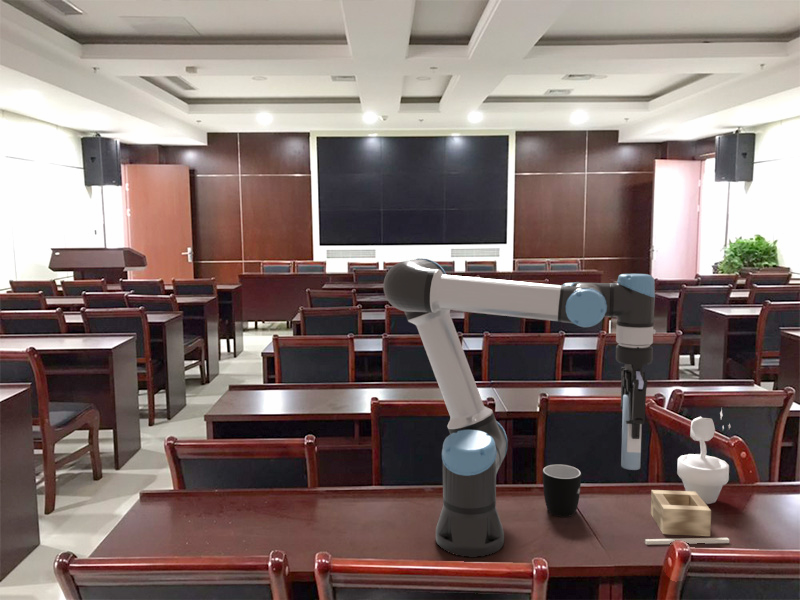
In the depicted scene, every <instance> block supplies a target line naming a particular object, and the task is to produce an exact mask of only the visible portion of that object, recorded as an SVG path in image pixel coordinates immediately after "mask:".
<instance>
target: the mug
mask: <svg viewBox="0 0 800 600" xmlns="http://www.w3.org/2000/svg"><path fill="white" fill-rule="evenodd" d="M581 480H582V472H581V471H580V470H579V469H578V468H576V467H574V466H571V465H568V464H550V465H546V466H545V467H544V468H543V469H542V486H543V496H544V503H545V506H546V509H547V511H548V512H549V513H550V514H551V515H554V516H556V517H562V518H565V517H572V516H573V515H574V514H575V513H576V512H577V509H578V507H579V502H580V501H579V500H580V494H581V487H582V486H581V485H582V483H581V482H582V481H581Z"/></svg>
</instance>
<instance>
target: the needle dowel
mask: <svg viewBox="0 0 800 600" xmlns="http://www.w3.org/2000/svg"><path fill="white" fill-rule="evenodd" d="M622 411H623V413H622V419H621V420H622V421H621V422H622V423H621V426H622V427H621V457H620V458H621V459H620V460H621V461H620V466H621V468H623V469H624V470H625V469H626V470H629V471H631V470H632V471H637V470H640V469H641V455H642V454H641V453H642V452H641V453H638V452H627V433H628V424H626V421H629V395H627V394H626V395H623V410H622ZM642 427H643V426H642ZM642 427H641V429H642Z"/></svg>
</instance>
